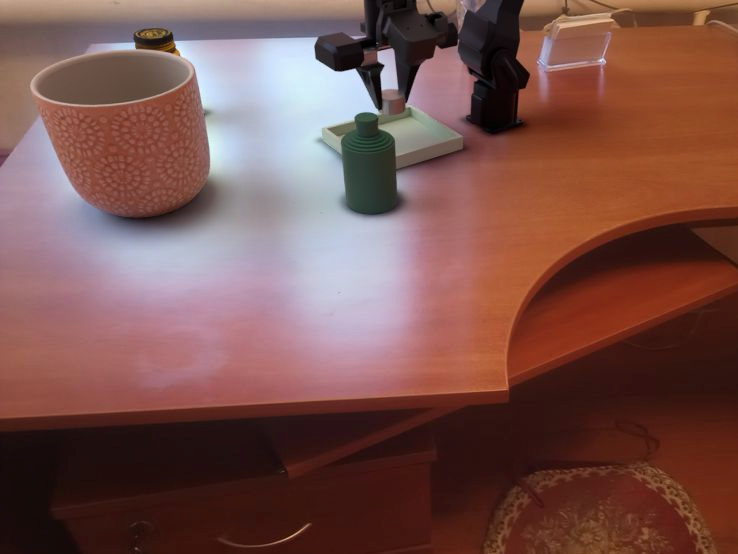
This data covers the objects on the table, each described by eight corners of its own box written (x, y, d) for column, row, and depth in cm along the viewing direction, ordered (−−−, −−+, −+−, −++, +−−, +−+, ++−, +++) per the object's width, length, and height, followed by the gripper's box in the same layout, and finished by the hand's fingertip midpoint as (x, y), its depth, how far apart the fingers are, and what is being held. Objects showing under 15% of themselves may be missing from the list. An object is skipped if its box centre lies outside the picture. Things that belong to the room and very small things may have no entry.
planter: (64, 241, 82) (13, 111, 72) (87, 171, 95) (45, 52, 85) (220, 226, 85) (191, 100, 76) (222, 161, 98) (197, 45, 88)
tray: (411, 116, 110) (411, 104, 109) (462, 148, 103) (463, 136, 101) (322, 140, 103) (321, 128, 102) (370, 177, 96) (369, 164, 94)
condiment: (206, 113, 109) (188, 30, 102) (164, 133, 104) (142, 47, 96) (170, 103, 112) (149, 21, 104) (127, 122, 106) (102, 38, 98)
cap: (394, 102, 102) (393, 86, 100) (411, 110, 100) (410, 95, 98) (372, 109, 100) (371, 93, 98) (388, 118, 98) (387, 102, 96)
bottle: (388, 185, 94) (384, 102, 87) (404, 209, 90) (401, 123, 82) (340, 193, 92) (332, 109, 85) (353, 217, 88) (346, 131, 81)
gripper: (352, 11, 80) (362, 144, 90) (485, -13, 89) (480, 110, 99) (305, -13, 87) (319, 113, 97) (433, -34, 95) (434, 84, 106)
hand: (391, 106), depth 99 cm, fingers closed on cap, 4 cm apart
